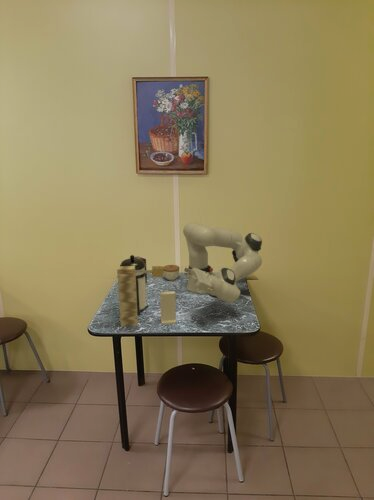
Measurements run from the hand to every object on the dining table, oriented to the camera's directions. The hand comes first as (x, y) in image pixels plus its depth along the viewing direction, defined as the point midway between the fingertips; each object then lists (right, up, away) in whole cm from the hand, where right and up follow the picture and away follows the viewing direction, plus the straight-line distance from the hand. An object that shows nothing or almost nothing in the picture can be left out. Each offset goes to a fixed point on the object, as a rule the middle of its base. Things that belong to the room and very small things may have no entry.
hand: (186, 272), depth 171 cm
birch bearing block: (-28, -25, +2) cm, 37 cm away
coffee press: (-27, -21, +16) cm, 38 cm away
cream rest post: (-9, -24, +5) cm, 26 cm away
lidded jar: (-10, -8, +60) cm, 61 cm away
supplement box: (-29, -10, +54) cm, 62 cm away
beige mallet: (-20, -1, -4) cm, 20 cm away
